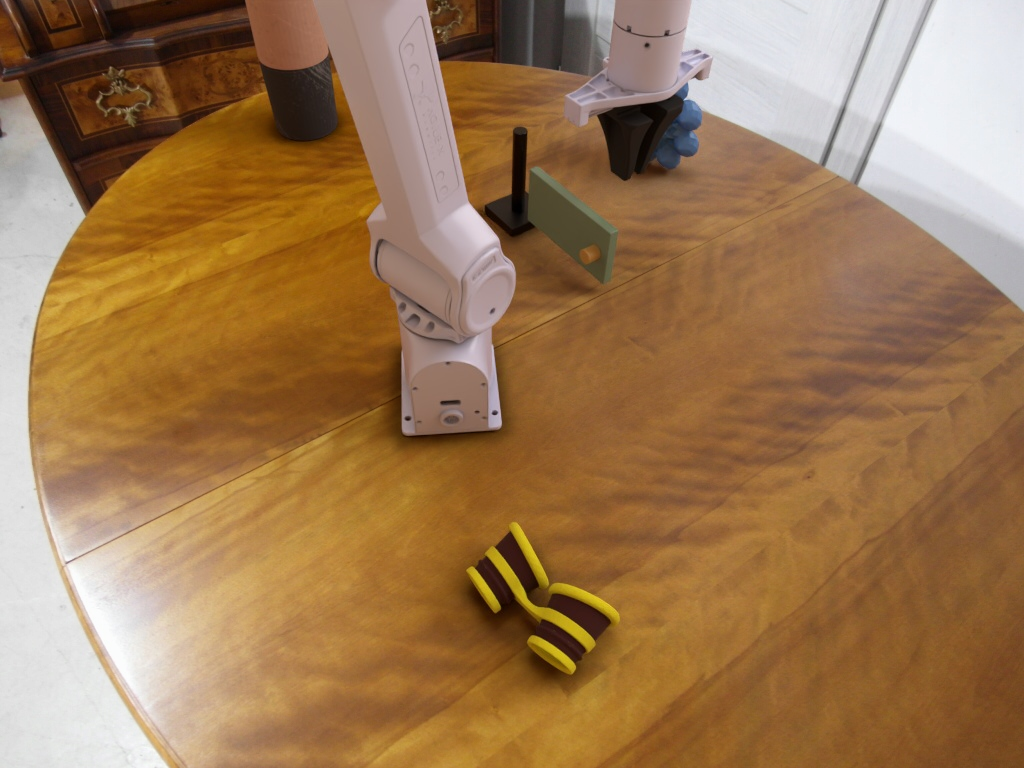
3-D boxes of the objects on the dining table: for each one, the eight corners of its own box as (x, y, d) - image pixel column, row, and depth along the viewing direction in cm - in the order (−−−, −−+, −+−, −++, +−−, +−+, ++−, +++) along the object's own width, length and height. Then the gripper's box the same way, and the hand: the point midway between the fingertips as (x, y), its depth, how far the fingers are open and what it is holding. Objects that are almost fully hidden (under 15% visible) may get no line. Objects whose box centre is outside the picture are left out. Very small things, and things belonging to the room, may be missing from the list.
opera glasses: (466, 589, 54) (453, 565, 50) (518, 536, 56) (510, 508, 52) (568, 689, 50) (563, 671, 46) (622, 628, 51) (621, 606, 47)
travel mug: (319, 101, 95) (286, -79, 80) (352, 127, 92) (324, -56, 77) (263, 121, 92) (218, -62, 77) (294, 149, 88) (254, -38, 73)
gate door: (516, 224, 78) (517, 173, 74) (535, 216, 79) (537, 165, 75) (591, 291, 72) (598, 239, 67) (611, 281, 73) (619, 229, 68)
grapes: (581, 160, 88) (591, 58, 79) (612, 135, 92) (625, 34, 83) (672, 197, 84) (694, 93, 75) (701, 169, 87) (724, 66, 78)
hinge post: (484, 212, 81) (483, 126, 74) (522, 196, 83) (525, 110, 76) (512, 237, 79) (514, 150, 71) (551, 220, 81) (557, 134, 73)
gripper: (682, -19, 65) (656, 128, 75) (544, 24, 59) (536, 176, 69) (744, 12, 61) (708, 162, 71) (603, 61, 56) (586, 216, 66)
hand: (627, 172), depth 70 cm, fingers closed
